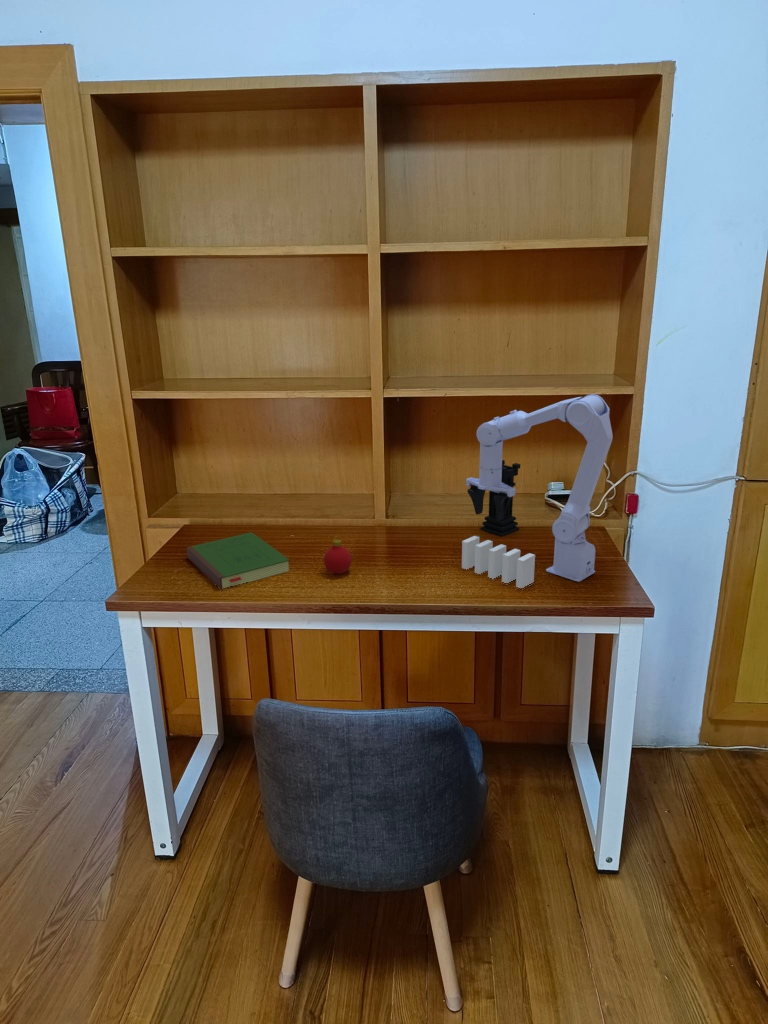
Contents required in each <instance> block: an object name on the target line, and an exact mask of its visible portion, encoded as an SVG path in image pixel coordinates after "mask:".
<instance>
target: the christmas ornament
mask: <svg viewBox="0 0 768 1024" xmlns="http://www.w3.org/2000/svg"><path fill="white" fill-rule="evenodd" d="M337 537H338V539H336V538H337ZM352 562H353V561H352V555H351V552H350V551H349V549H347V548H346V547H345V546H342V540H341V539H340V536H339V535H336V536H334V538H333V540H332V546H331V547H330V548H328V550H327V551H326V552H325V554H324V556H323V563H324V566H325V568H326V570H327V571H329V573H332V574H336V575H341V574H344V573H345V572H347V571H348V570H349V568H350V567H351V566H352Z"/></svg>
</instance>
